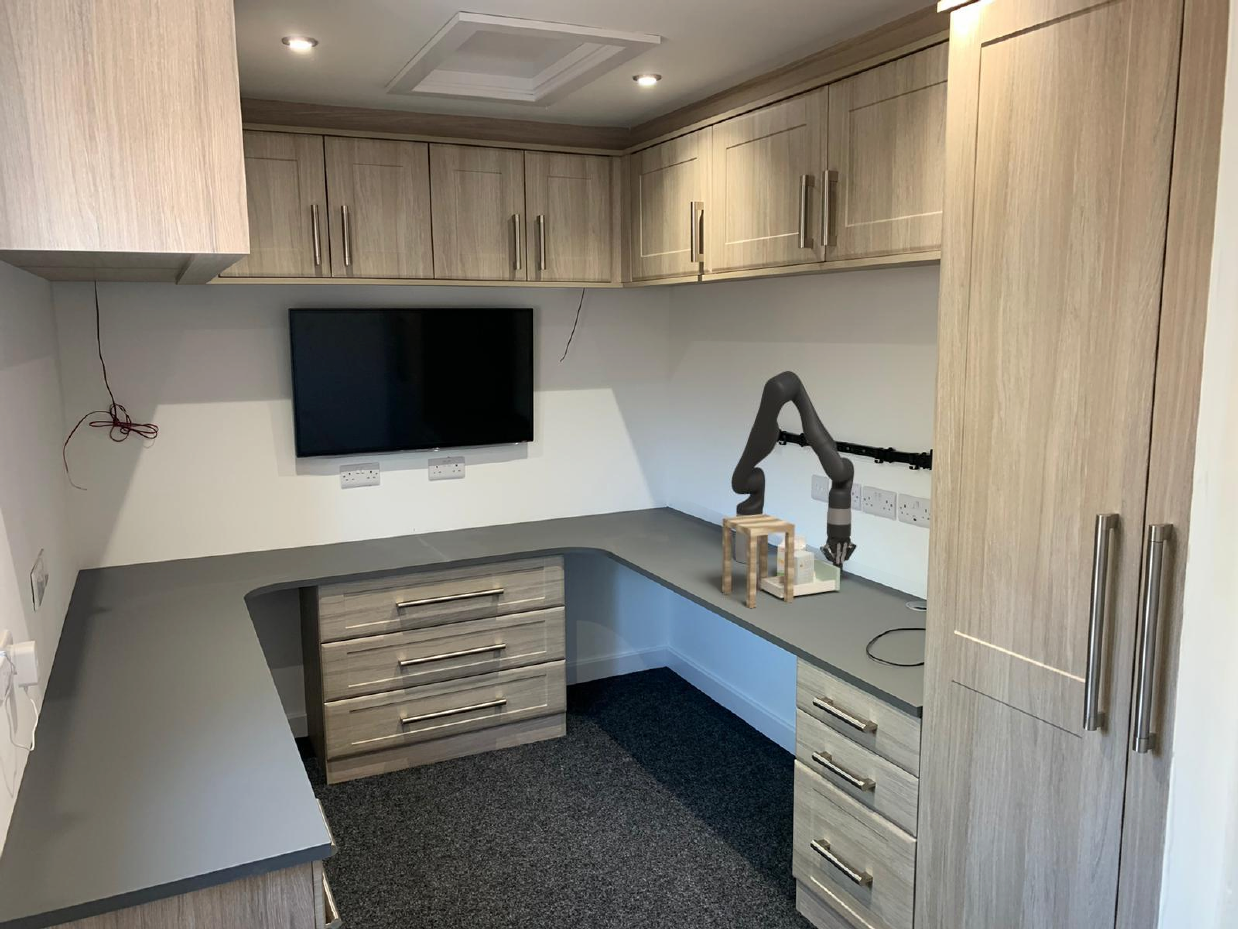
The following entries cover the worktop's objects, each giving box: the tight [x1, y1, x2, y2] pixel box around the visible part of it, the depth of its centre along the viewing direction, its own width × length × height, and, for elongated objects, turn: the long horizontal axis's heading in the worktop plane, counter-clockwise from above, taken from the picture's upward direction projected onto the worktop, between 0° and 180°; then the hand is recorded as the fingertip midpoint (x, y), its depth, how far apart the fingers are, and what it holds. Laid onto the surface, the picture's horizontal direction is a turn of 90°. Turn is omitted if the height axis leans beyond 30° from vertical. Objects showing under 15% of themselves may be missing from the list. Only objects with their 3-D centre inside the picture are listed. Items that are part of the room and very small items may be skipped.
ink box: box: [776, 533, 807, 576], centre depth 304 cm, size 9×5×15 cm, turn 62°
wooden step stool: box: [721, 513, 796, 609], centre depth 284 cm, size 17×15×24 cm
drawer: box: [761, 557, 841, 599], centre depth 291 cm, size 13×21×7 cm, turn 113°
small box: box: [784, 550, 815, 586], centre depth 291 cm, size 8×6×10 cm
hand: (837, 574), depth 297 cm, fingers closed
